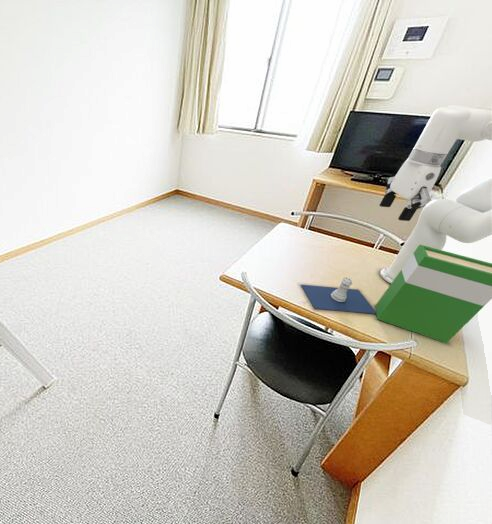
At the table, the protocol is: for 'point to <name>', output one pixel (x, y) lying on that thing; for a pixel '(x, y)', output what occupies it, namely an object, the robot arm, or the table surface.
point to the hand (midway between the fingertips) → (393, 213)
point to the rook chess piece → (341, 290)
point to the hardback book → (436, 293)
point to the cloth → (323, 300)
